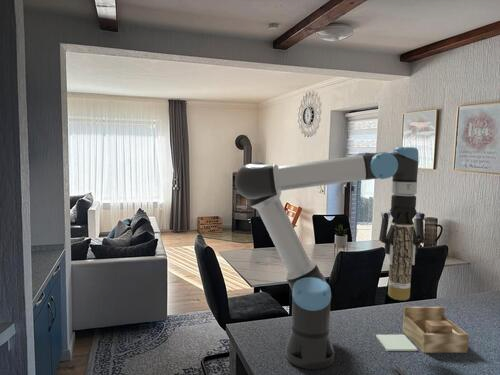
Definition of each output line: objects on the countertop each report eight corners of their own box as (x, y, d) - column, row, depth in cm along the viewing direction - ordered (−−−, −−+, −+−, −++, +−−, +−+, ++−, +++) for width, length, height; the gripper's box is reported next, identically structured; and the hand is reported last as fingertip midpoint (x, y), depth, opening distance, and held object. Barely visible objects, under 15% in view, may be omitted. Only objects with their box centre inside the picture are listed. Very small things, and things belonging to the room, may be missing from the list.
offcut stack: (426, 350, 122) (428, 326, 121) (420, 344, 126) (422, 320, 125) (459, 350, 122) (461, 326, 121) (452, 344, 126) (454, 320, 125)
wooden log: (411, 301, 120) (415, 225, 118) (389, 300, 122) (393, 224, 120) (407, 294, 127) (411, 222, 125) (386, 292, 128) (389, 221, 126)
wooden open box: (423, 352, 120) (424, 325, 119) (402, 330, 135) (403, 306, 134) (467, 352, 121) (469, 325, 120) (442, 330, 136) (443, 306, 135)
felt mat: (387, 351, 121) (387, 349, 121) (375, 336, 131) (375, 334, 131) (417, 351, 121) (417, 349, 121) (403, 336, 131) (403, 334, 131)
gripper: (378, 195, 118) (375, 266, 119) (439, 196, 118) (435, 267, 120) (370, 193, 125) (367, 260, 127) (427, 193, 126) (423, 260, 128)
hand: (400, 263), depth 124 cm, fingers closed on wooden log, 7 cm apart
